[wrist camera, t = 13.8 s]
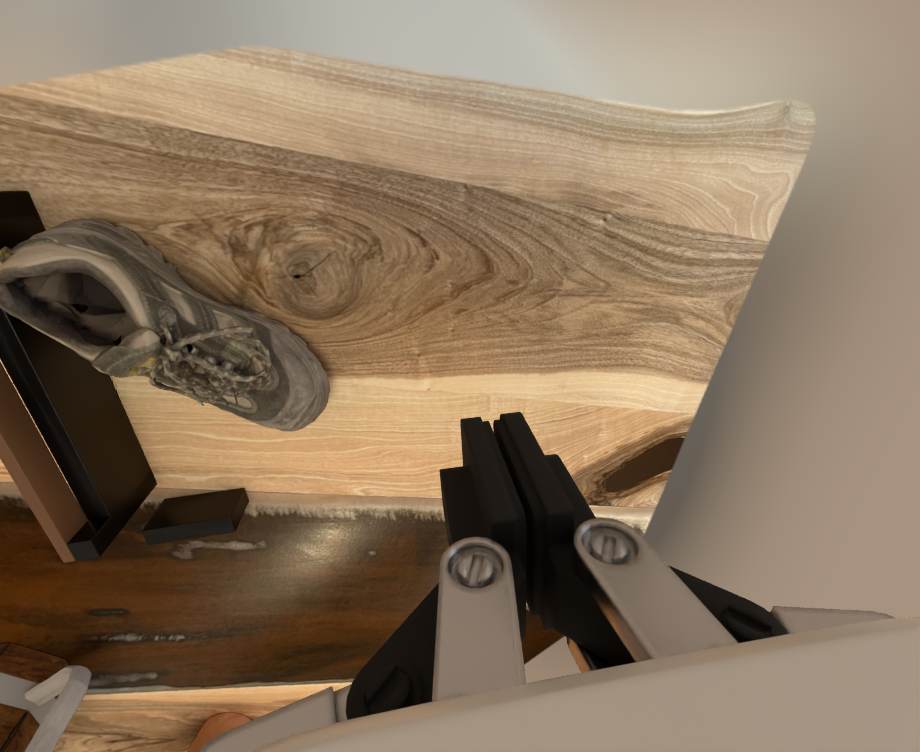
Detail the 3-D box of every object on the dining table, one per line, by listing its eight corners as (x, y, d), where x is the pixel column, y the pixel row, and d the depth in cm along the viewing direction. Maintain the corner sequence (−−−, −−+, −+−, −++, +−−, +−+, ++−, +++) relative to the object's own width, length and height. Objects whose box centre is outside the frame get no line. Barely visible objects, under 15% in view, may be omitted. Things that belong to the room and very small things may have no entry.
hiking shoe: (282, 463, 37) (280, 485, 26) (28, 312, 31) (-114, 257, 20) (345, 375, 39) (368, 360, 28) (120, 221, 34) (39, 128, 23)
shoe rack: (-12, 193, 28) (-160, 196, 21) (141, 182, 29) (53, 181, 22) (142, 517, 39) (83, 596, 32) (249, 501, 40) (216, 574, 33)
